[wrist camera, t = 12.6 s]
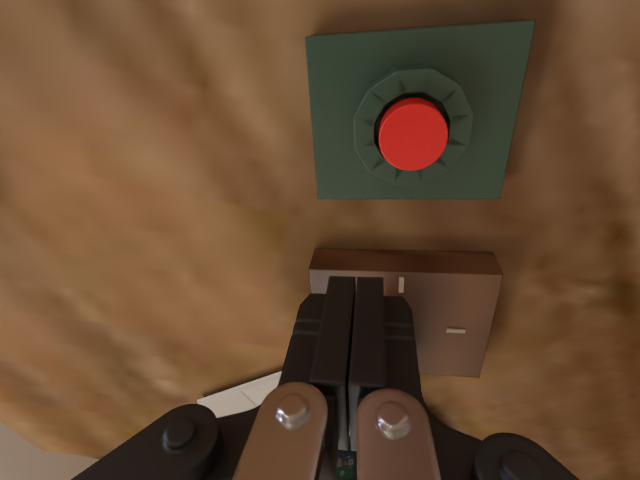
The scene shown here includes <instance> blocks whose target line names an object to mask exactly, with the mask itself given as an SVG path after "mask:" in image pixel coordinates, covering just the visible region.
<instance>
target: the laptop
mask: <svg viewBox="0 0 640 480" xmlns="http://www.w3.org/2000/svg"><path fill="white" fill-rule="evenodd" d="M281 372H282V371H280V372H277V373H274V374H271V375H268V376H266V377H263V378H260V379H257V380H254V381H251V382H248V383H245V384H242V385H239V386H236V387H233V388H231V389H228V390H225V391H222V392H219V393H216V394H213V395H210V396H207V397H204V398H201V399H199V400H197V403H198V404H200V405H203V406H206V407H208V408H209V409H211V410H212V411H213V412H214V414H215V416H216V418H219V417H223V416H227V415H232V414H236V413H240V412H244V411H248V410H251V409H253V408H255V407H257V406H259V405H260V404H262V402H263V400H264V399H265V397H266V396H267V395H268V394H269V393H270V392H271V391H272V390H274V389H275V388H276V387H277V385H278V383H279V380H280V376H281ZM349 435H350V428H349ZM335 480H357V451H351V442H350V436H349V442H348V451H347V450H338V455H337V465H336V475H335Z"/></svg>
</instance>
